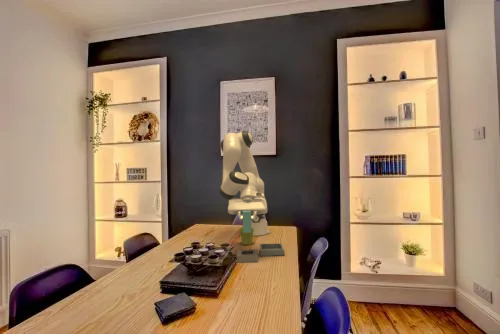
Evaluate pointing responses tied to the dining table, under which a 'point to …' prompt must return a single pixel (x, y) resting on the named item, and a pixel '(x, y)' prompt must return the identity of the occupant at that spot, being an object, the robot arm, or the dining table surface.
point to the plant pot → (246, 236)
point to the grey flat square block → (247, 256)
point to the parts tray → (271, 249)
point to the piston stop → (246, 221)
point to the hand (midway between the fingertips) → (246, 219)
